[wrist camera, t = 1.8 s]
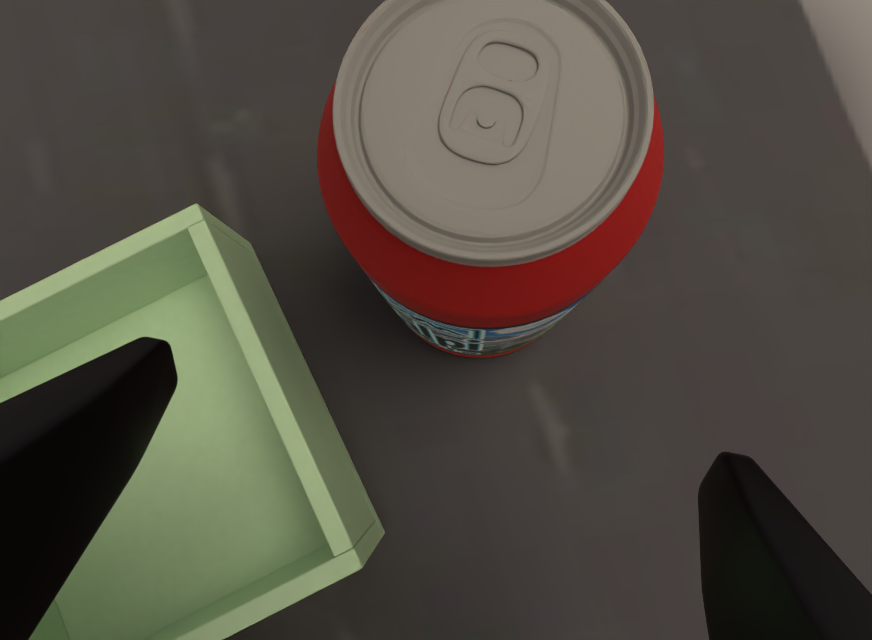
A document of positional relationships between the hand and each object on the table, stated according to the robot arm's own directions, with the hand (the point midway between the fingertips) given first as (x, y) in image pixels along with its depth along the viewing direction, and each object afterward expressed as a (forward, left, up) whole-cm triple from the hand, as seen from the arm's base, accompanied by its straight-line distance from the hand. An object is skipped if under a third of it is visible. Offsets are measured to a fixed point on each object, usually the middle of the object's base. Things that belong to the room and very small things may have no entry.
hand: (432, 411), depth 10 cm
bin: (+3, +10, -12) cm, 15 cm away
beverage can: (+4, -3, -12) cm, 13 cm away
